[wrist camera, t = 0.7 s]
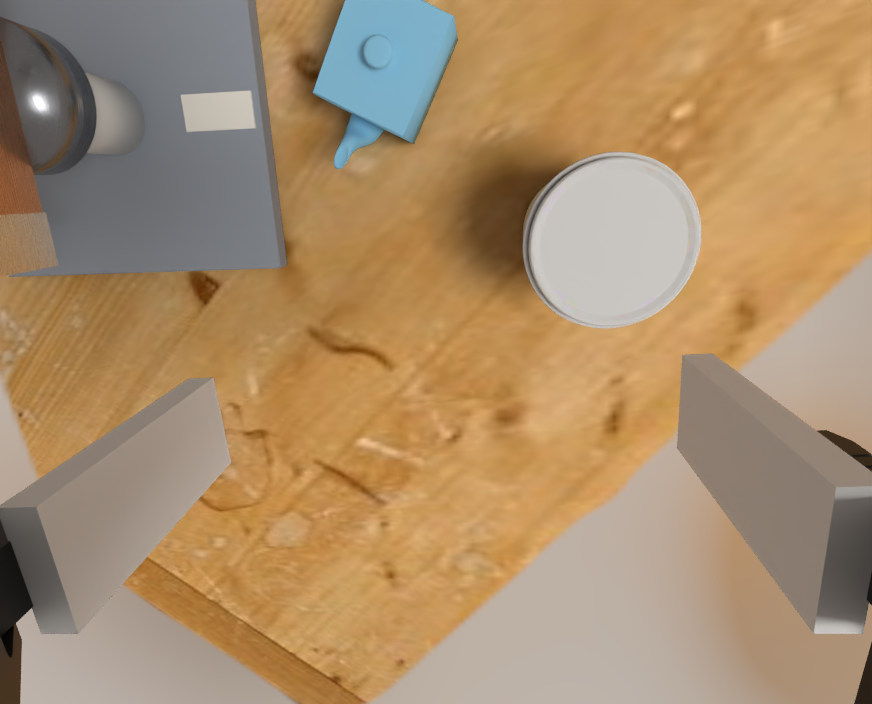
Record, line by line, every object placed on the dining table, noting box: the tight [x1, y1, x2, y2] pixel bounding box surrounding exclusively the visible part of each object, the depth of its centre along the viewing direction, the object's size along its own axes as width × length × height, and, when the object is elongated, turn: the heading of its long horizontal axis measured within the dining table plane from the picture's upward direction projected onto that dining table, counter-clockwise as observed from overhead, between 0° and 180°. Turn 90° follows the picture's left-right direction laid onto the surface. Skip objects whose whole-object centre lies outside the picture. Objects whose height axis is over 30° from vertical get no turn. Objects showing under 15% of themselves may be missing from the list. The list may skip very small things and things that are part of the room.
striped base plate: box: [0, 0, 287, 277], centre depth 36 cm, size 22×22×8 cm
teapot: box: [313, 0, 458, 169], centre depth 35 cm, size 12×6×8 cm, turn 155°
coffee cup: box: [523, 152, 701, 328], centre depth 34 cm, size 9×9×12 cm
